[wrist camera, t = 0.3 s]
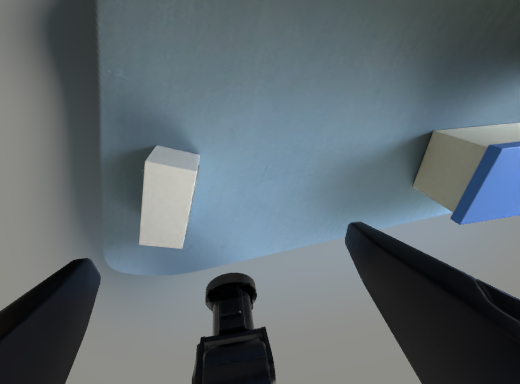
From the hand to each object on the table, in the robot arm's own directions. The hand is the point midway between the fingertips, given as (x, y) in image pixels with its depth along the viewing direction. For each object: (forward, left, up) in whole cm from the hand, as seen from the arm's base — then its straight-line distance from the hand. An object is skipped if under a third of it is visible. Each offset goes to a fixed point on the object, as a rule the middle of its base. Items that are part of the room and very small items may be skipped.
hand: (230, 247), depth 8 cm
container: (-4, -27, -13) cm, 30 cm away
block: (-4, +5, -13) cm, 15 cm away
